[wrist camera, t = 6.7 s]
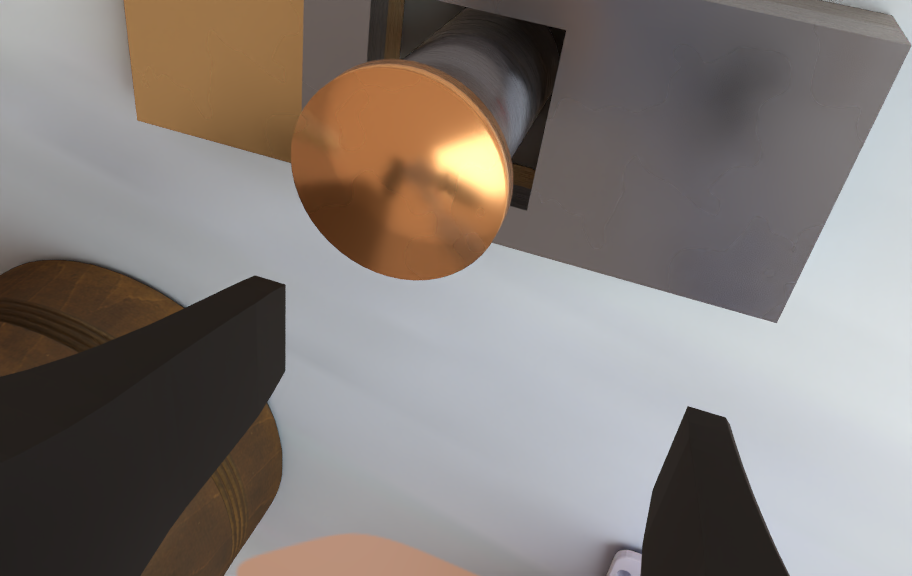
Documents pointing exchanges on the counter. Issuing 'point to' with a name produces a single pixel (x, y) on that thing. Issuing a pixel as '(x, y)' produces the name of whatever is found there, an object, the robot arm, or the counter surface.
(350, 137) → the pin
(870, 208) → the counter surface
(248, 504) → the brown labelled jar
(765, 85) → the slotted panel plate
